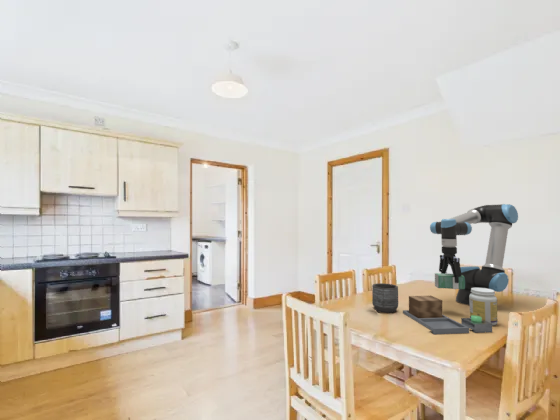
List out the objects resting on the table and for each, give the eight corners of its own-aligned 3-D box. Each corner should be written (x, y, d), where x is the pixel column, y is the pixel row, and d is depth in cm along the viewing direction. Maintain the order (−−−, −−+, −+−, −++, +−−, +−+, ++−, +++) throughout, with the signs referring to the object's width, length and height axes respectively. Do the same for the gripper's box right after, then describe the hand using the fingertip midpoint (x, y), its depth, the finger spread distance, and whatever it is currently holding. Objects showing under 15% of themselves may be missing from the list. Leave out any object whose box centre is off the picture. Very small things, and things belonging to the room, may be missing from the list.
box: (465, 289, 164) (465, 275, 164) (438, 288, 167) (438, 275, 167) (460, 286, 171) (459, 273, 172) (434, 285, 174) (434, 272, 174)
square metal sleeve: (478, 325, 152) (478, 317, 153) (492, 332, 144) (492, 323, 144) (461, 326, 152) (461, 318, 152) (474, 332, 143) (474, 324, 143)
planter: (399, 309, 179) (398, 284, 179) (397, 316, 166) (397, 289, 166) (374, 306, 185) (374, 282, 185) (370, 313, 172) (370, 287, 172)
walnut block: (431, 313, 169) (430, 295, 169) (442, 319, 159) (442, 300, 159) (408, 314, 167) (408, 296, 168) (418, 320, 157) (418, 300, 158)
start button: (477, 323, 150) (477, 315, 150) (484, 326, 146) (483, 318, 146) (468, 323, 150) (468, 315, 150) (475, 326, 145) (475, 318, 145)
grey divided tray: (432, 313, 171) (432, 309, 171) (469, 333, 142) (469, 327, 142) (402, 314, 170) (402, 310, 170) (434, 334, 141) (433, 328, 141)
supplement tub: (490, 319, 163) (489, 287, 163) (502, 327, 151) (502, 292, 151) (465, 317, 165) (464, 286, 165) (475, 325, 153) (475, 291, 153)
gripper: (431, 244, 180) (432, 283, 179) (455, 248, 159) (456, 291, 158) (443, 244, 181) (444, 282, 180) (469, 248, 159) (470, 291, 159)
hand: (450, 286), depth 169 cm, fingers closed on box, 9 cm apart
